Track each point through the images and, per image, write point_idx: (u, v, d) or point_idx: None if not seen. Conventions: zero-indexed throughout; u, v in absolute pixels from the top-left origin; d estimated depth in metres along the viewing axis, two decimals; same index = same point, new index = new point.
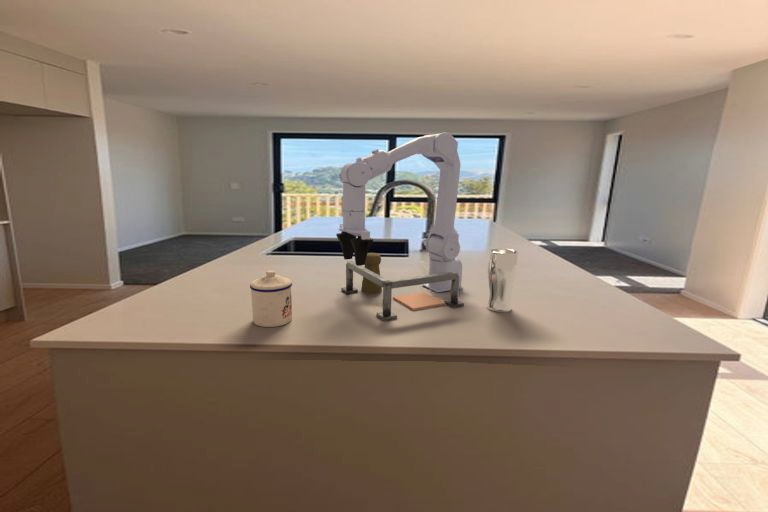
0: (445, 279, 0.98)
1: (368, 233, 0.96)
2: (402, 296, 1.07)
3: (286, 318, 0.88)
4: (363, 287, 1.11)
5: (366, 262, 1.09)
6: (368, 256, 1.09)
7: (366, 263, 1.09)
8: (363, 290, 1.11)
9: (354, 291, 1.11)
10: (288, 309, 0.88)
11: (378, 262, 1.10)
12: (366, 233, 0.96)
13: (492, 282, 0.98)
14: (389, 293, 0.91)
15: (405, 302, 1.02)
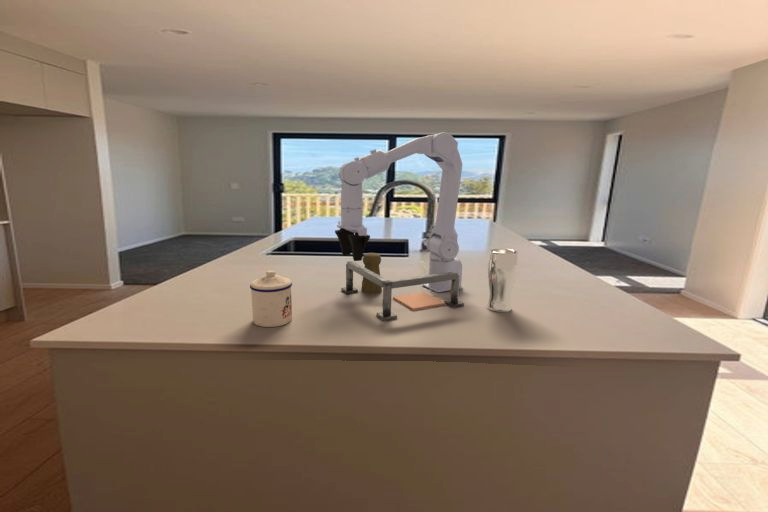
0: (445, 279, 0.98)
1: (365, 229, 1.00)
2: (402, 296, 1.07)
3: (286, 318, 0.88)
4: (363, 287, 1.11)
5: (366, 262, 1.09)
6: (368, 256, 1.09)
7: (366, 263, 1.09)
8: (363, 290, 1.11)
9: (354, 291, 1.11)
10: (288, 309, 0.88)
11: (378, 262, 1.10)
12: (363, 229, 1.00)
13: (492, 282, 0.98)
14: (389, 293, 0.91)
15: (405, 302, 1.02)
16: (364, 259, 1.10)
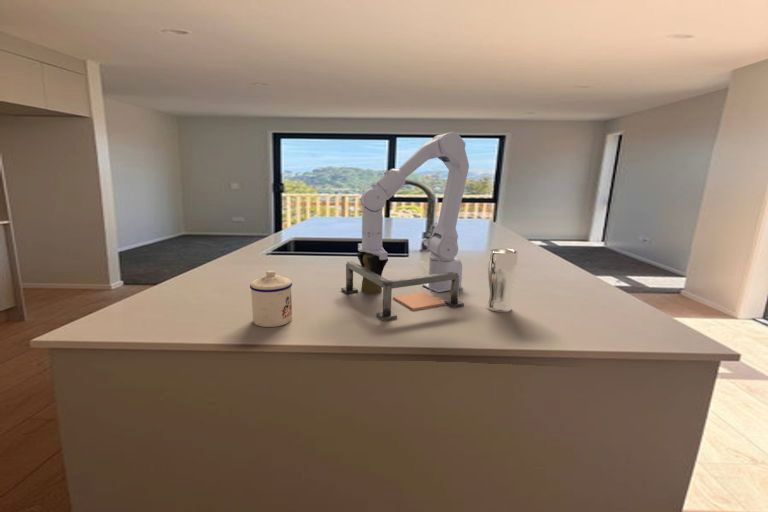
0: (445, 279, 0.98)
1: (386, 254, 1.05)
2: (402, 296, 1.07)
3: (286, 318, 0.88)
4: (363, 287, 1.11)
5: (366, 262, 1.09)
6: (368, 256, 1.09)
7: (366, 263, 1.09)
8: (363, 290, 1.11)
9: (354, 291, 1.11)
10: (288, 309, 0.88)
11: None
12: (384, 254, 1.04)
13: (492, 282, 0.98)
14: (389, 293, 0.91)
15: (405, 302, 1.02)
16: (364, 259, 1.10)
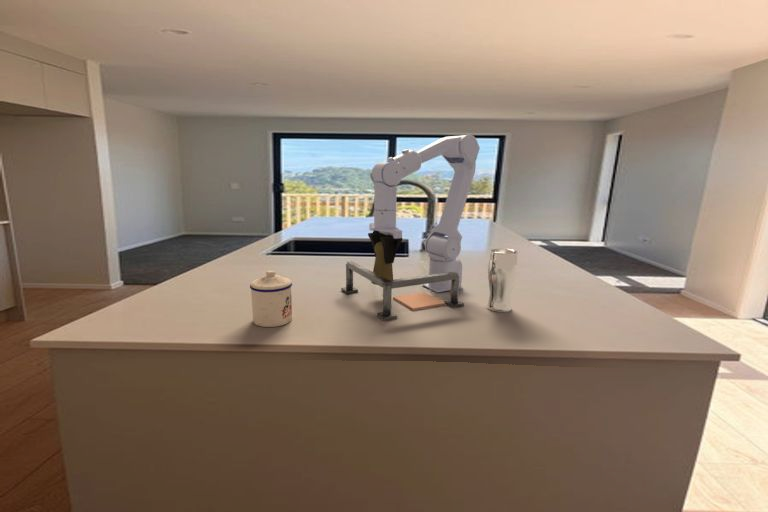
0: (445, 279, 0.98)
1: (400, 232, 0.97)
2: (402, 296, 1.07)
3: (286, 318, 0.88)
4: None
5: (377, 251, 1.02)
6: (380, 244, 1.02)
7: (377, 252, 1.02)
8: None
9: (354, 291, 1.11)
10: (288, 309, 0.88)
11: None
12: (398, 232, 0.97)
13: (492, 282, 0.98)
14: (389, 293, 0.91)
15: (405, 302, 1.02)
16: (375, 248, 1.03)
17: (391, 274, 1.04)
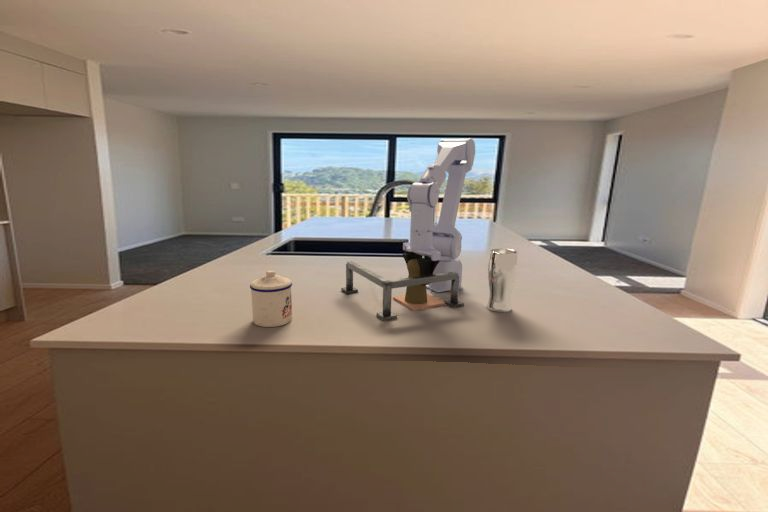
0: (445, 279, 0.98)
1: (439, 254, 0.95)
2: (402, 296, 1.07)
3: (286, 318, 0.88)
4: (407, 296, 1.02)
5: (411, 269, 1.00)
6: (413, 262, 1.00)
7: (411, 270, 1.00)
8: (407, 299, 1.02)
9: (354, 291, 1.11)
10: (288, 309, 0.88)
11: None
12: (437, 254, 0.95)
13: (492, 282, 0.98)
14: (389, 293, 0.91)
15: (405, 302, 1.02)
16: (409, 266, 1.00)
17: (425, 291, 1.02)
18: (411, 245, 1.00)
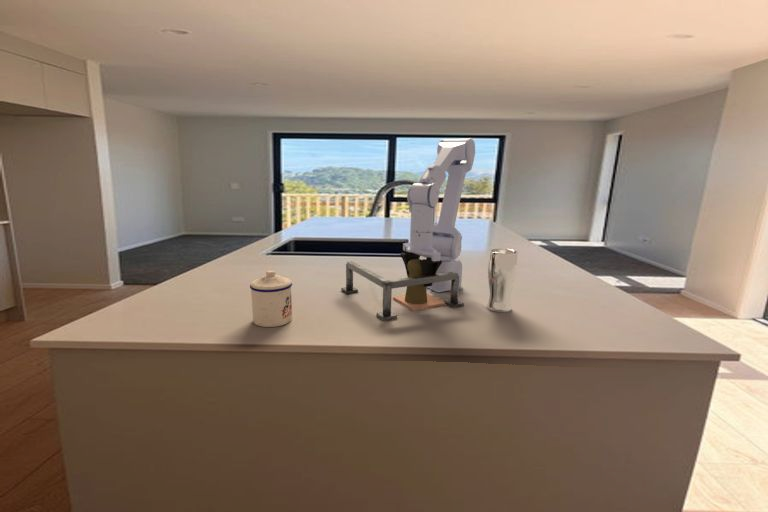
0: (445, 279, 0.98)
1: (439, 255, 0.95)
2: (402, 296, 1.07)
3: (286, 318, 0.88)
4: (407, 296, 1.02)
5: (411, 269, 1.00)
6: (413, 263, 1.00)
7: (411, 270, 1.00)
8: (407, 300, 1.02)
9: (354, 291, 1.11)
10: (288, 309, 0.88)
11: None
12: (437, 255, 0.95)
13: (492, 282, 0.98)
14: (389, 293, 0.91)
15: (405, 302, 1.02)
16: (409, 266, 1.00)
17: (425, 291, 1.02)
18: (411, 246, 1.00)
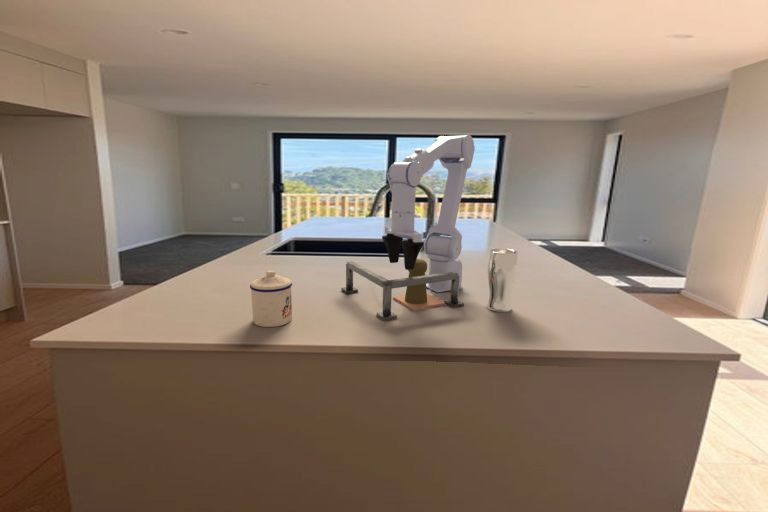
0: (445, 279, 0.98)
1: (420, 236, 0.92)
2: (402, 296, 1.07)
3: (286, 318, 0.88)
4: (407, 296, 1.02)
5: (411, 269, 1.00)
6: None
7: (411, 270, 1.00)
8: (407, 300, 1.02)
9: (354, 291, 1.11)
10: (288, 309, 0.88)
11: (424, 269, 1.00)
12: (418, 236, 0.91)
13: (492, 282, 0.98)
14: (389, 293, 0.91)
15: (405, 302, 1.02)
16: None
17: (425, 291, 1.02)
18: (392, 227, 0.96)
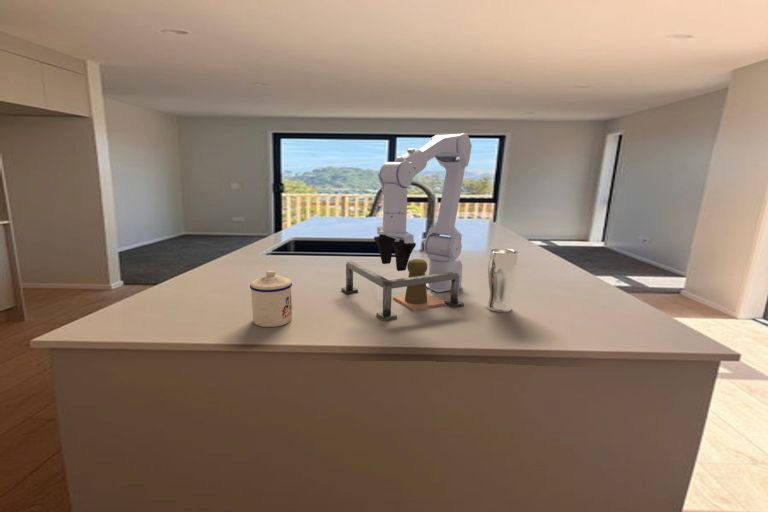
0: (445, 279, 0.98)
1: (412, 237, 0.91)
2: (402, 296, 1.07)
3: (286, 318, 0.88)
4: (407, 296, 1.02)
5: (411, 269, 1.00)
6: (413, 263, 1.00)
7: (411, 270, 1.00)
8: (407, 300, 1.02)
9: (354, 291, 1.11)
10: (288, 309, 0.88)
11: (424, 269, 1.00)
12: (410, 237, 0.90)
13: (492, 282, 0.98)
14: (389, 293, 0.91)
15: (405, 302, 1.02)
16: (409, 266, 1.00)
17: (425, 291, 1.02)
18: (384, 228, 0.95)
